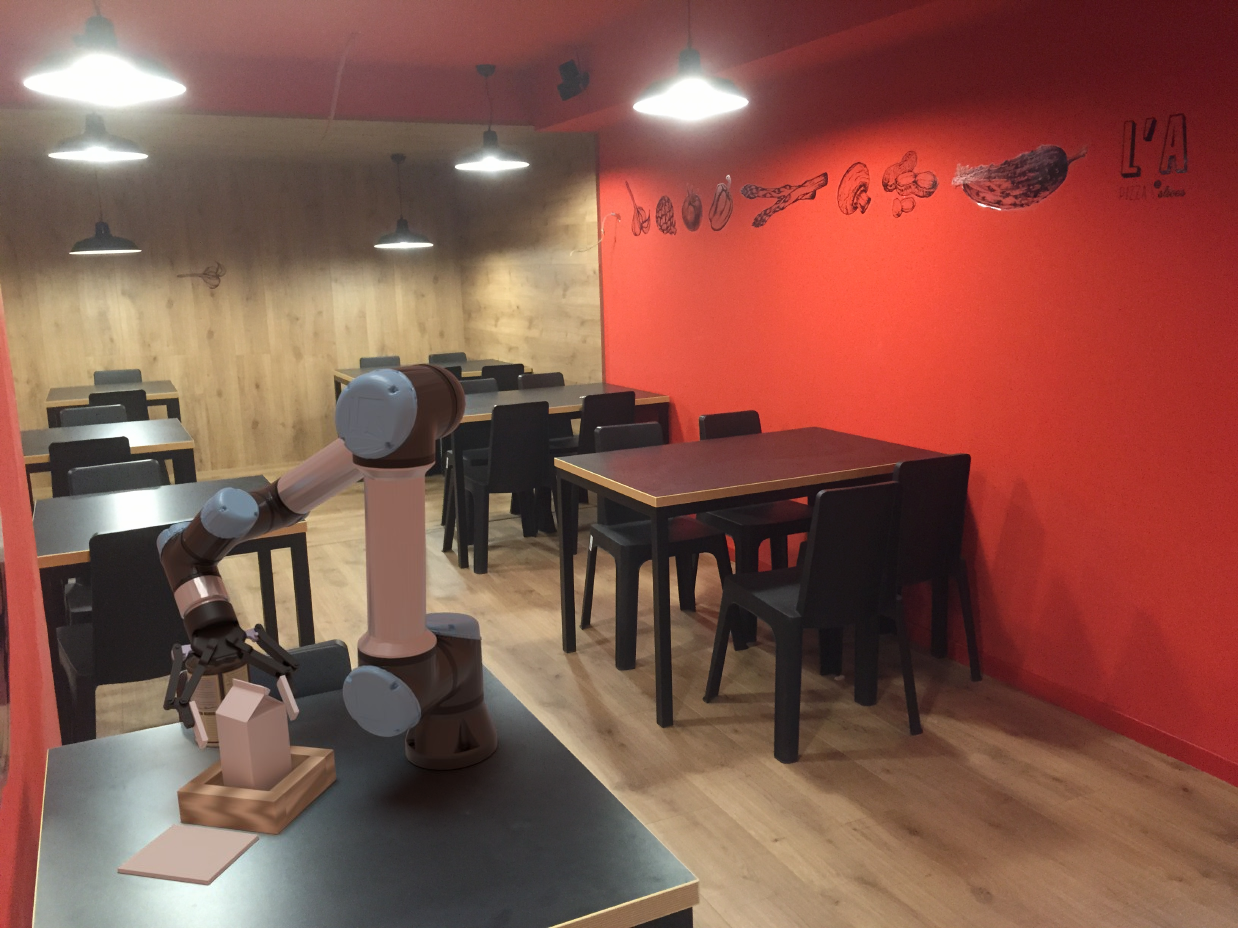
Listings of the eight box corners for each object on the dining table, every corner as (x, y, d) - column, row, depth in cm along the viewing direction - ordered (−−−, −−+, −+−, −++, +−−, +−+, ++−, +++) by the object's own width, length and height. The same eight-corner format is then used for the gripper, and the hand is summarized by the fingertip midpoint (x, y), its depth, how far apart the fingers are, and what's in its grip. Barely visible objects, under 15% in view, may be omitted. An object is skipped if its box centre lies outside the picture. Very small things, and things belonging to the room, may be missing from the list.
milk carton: (256, 817, 142) (243, 696, 139) (225, 805, 146) (212, 686, 142) (295, 795, 148) (283, 678, 144) (264, 784, 152) (252, 670, 148)
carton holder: (336, 778, 153) (333, 749, 152) (277, 834, 137) (274, 801, 136) (247, 769, 157) (244, 740, 156) (180, 822, 141) (177, 790, 140)
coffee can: (212, 720, 176) (204, 646, 173) (267, 721, 174) (259, 647, 172) (182, 746, 165) (173, 668, 163) (239, 747, 164) (231, 669, 162)
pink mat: (258, 838, 136) (258, 834, 136) (208, 884, 126) (207, 880, 126) (173, 827, 140) (173, 824, 140) (117, 872, 129) (117, 868, 129)
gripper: (279, 605, 164) (324, 715, 155) (119, 643, 148) (159, 768, 139) (288, 581, 159) (335, 694, 150) (124, 618, 143) (166, 746, 135)
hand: (251, 730), depth 145 cm, fingers open, 13 cm apart
